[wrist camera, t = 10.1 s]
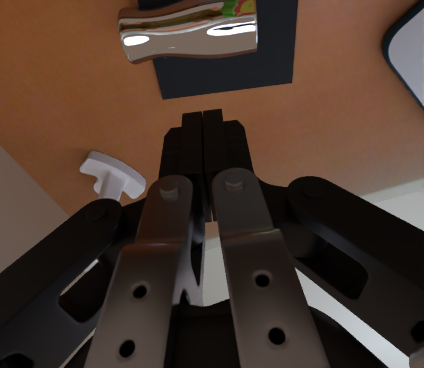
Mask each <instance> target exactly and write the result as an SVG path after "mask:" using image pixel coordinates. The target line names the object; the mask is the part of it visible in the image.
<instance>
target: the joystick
mask: <svg viewBox="0 0 424 368" xmlns="http://www.w3.org/2000/svg"><path fill="white" fill-rule="evenodd" d="M80 171H81V172H82V173H85V174H90V175H93V176H96V177H97V179H96V182H95V184H94V190H95V191H96V192H97V193H98V194H99V197H98V199H102V198H111V199H115V200H117V201H118V202H119V199H120V196H121V193H122V191H124V192H126V193H127V194H128V195H129V196H130V197H131V198H132V199H136V198H137V197H138V196H139V195H140V194H141V193H143V192H144V190H145V185H146V180H145V179H144V178H143V177H142V176H141V175H140V174H139V173H138V172H137V171H135V170H134V169H133V168H131V167H130V166H128V165H127V164H125V163H123V162H121V161H120V160H118V159H115V158H113V157H111V156H109V155H106V154H103V153H100V152H97V151H90V153H89V154H88V156H87V158H86V159H85V160H84V161H83V163H82V165H81V167H80ZM97 262H98V260H97V259H96V260H95V261H94V262H93V263H92V264H90V265H89V266H88V267H87V268H86V269H85V270H84V271H85V272H88V271H89V270H90V269H91V268H92V267H93V266H94V265H95V264H96V263H97Z"/></svg>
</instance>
